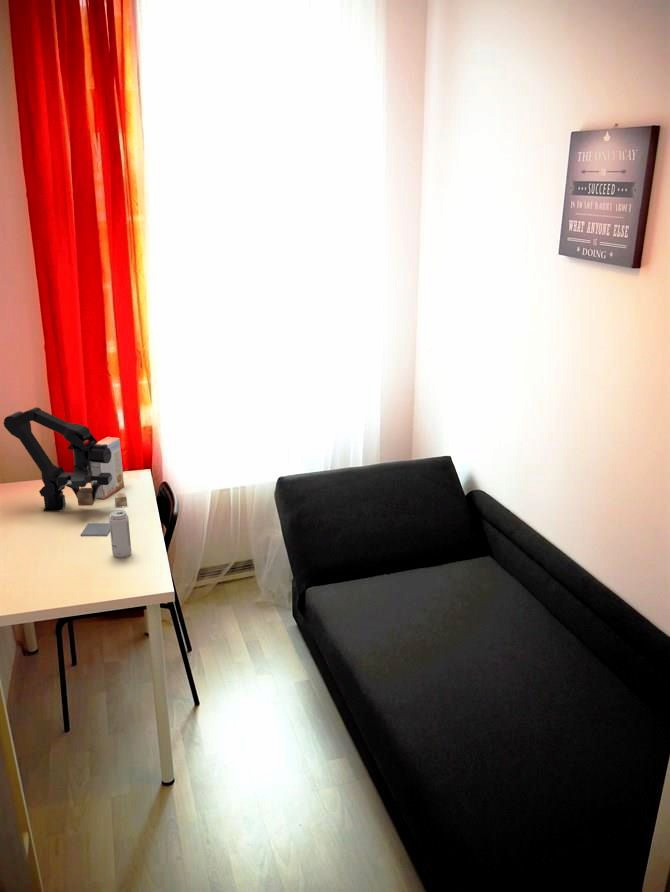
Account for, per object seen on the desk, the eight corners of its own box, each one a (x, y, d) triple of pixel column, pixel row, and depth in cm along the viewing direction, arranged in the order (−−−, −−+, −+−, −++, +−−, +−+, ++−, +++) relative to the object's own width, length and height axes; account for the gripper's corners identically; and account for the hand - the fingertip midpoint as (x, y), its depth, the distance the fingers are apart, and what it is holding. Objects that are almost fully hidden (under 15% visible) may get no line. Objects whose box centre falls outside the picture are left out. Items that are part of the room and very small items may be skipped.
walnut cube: (78, 505, 275) (76, 493, 273) (82, 500, 279) (80, 487, 278) (92, 505, 275) (90, 493, 273) (95, 500, 279) (94, 487, 278)
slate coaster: (80, 536, 259) (80, 534, 259) (88, 524, 267) (88, 523, 267) (106, 536, 259) (106, 534, 259) (113, 524, 268) (113, 523, 267)
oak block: (116, 507, 282) (115, 498, 280) (115, 503, 285) (114, 494, 284) (127, 506, 283) (126, 496, 282) (126, 502, 287) (125, 492, 285)
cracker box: (111, 484, 302) (107, 435, 295) (124, 486, 301) (120, 437, 294) (91, 497, 290) (85, 447, 283) (104, 500, 288) (99, 449, 281)
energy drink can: (111, 551, 248) (107, 510, 243) (130, 549, 250) (126, 508, 245) (113, 560, 243) (109, 518, 238) (132, 557, 245) (128, 515, 240)
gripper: (49, 468, 263) (54, 509, 269) (102, 468, 264) (106, 509, 269) (59, 457, 274) (63, 496, 279) (110, 457, 275) (114, 496, 280)
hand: (86, 500), depth 277 cm, fingers closed on walnut cube, 5 cm apart
